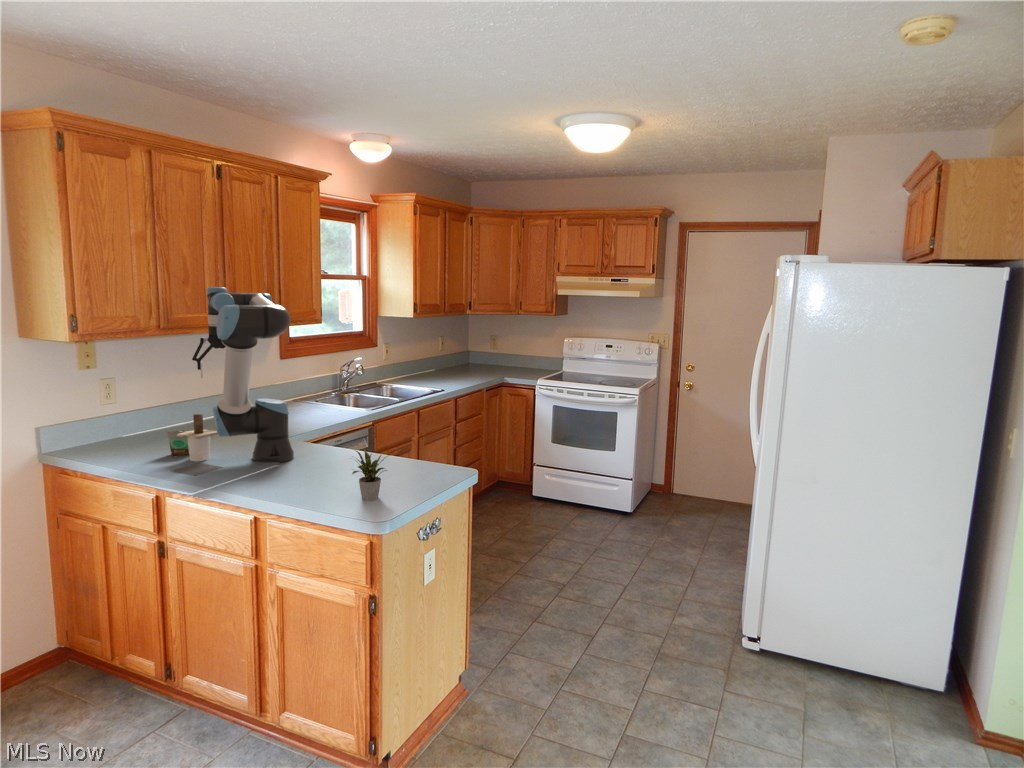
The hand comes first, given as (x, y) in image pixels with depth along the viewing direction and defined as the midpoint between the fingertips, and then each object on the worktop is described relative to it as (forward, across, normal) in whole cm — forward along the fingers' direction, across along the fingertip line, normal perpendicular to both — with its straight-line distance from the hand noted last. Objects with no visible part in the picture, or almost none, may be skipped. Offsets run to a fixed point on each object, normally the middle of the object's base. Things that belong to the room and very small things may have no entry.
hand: (220, 377), depth 270 cm
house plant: (+29, -44, +85) cm, 100 cm away
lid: (+19, +8, +22) cm, 30 cm away
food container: (+29, +14, +13) cm, 35 cm away
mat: (+29, +8, +36) cm, 47 cm away
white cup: (+29, +8, +22) cm, 37 cm away
